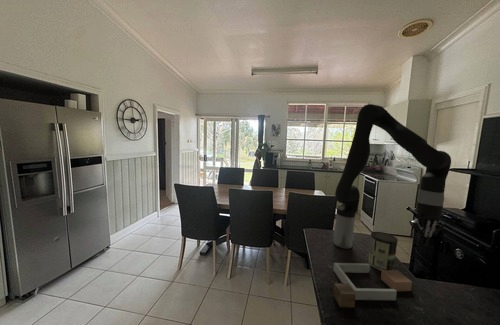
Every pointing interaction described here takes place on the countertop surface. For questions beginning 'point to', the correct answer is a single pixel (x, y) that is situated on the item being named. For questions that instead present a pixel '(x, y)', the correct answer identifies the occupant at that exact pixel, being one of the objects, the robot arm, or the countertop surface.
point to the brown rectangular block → (396, 280)
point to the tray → (362, 292)
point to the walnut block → (344, 295)
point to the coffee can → (382, 251)
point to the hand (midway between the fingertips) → (423, 244)
